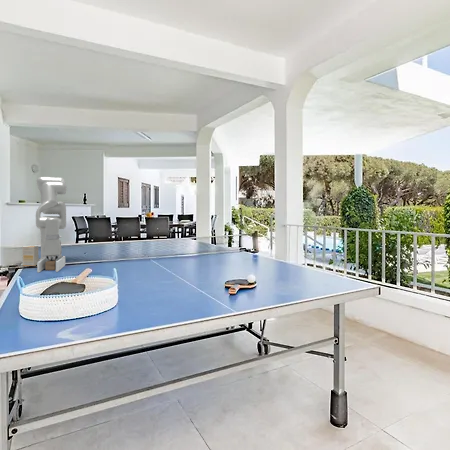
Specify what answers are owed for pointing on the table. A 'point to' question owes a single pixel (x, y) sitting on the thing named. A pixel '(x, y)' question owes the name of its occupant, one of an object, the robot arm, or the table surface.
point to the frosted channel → (41, 264)
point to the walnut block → (50, 265)
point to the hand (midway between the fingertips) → (52, 266)
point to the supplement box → (30, 255)
